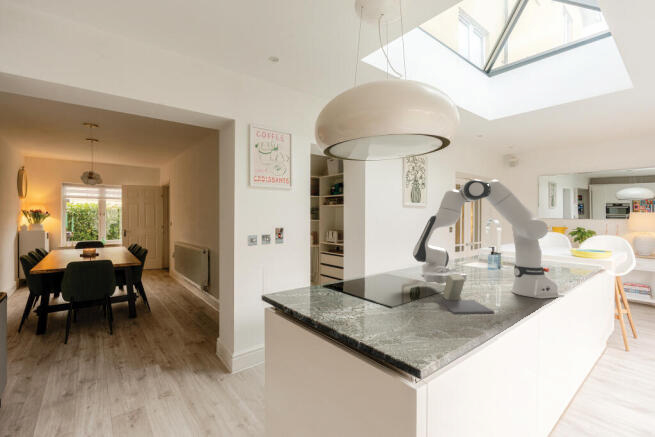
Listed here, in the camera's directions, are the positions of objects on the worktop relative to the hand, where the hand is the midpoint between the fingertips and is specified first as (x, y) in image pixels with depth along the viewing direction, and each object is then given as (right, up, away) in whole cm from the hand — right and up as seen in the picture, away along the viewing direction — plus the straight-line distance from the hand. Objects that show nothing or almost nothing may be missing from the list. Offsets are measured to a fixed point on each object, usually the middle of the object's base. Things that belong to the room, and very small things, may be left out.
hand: (451, 280), depth 143 cm
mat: (+1, -9, -11) cm, 14 cm away
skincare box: (0, -9, +1) cm, 9 cm away
